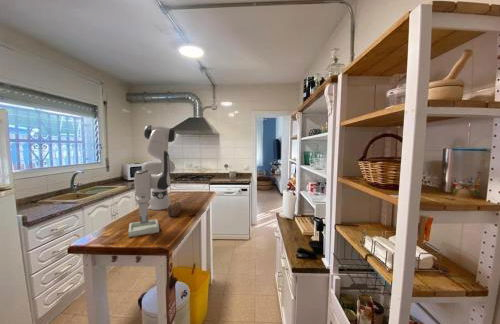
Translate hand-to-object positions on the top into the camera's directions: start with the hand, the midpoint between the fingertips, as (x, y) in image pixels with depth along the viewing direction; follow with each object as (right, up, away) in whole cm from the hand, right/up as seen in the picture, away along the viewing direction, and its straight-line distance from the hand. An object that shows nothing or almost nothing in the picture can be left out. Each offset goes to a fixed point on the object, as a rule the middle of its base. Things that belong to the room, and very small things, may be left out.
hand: (144, 219), depth 134 cm
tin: (+8, -5, +31) cm, 33 cm away
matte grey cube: (0, -2, 0) cm, 2 cm away
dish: (0, -7, +1) cm, 7 cm away
